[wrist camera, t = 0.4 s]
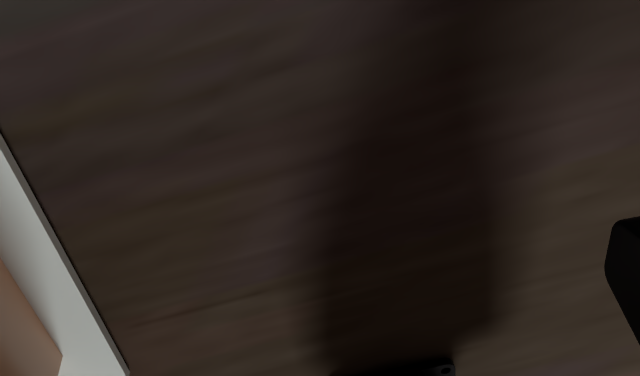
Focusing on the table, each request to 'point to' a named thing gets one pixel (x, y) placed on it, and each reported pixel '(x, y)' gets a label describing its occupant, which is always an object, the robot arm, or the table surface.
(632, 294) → the robot arm
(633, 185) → the table surface
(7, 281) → the tile
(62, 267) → the mat
